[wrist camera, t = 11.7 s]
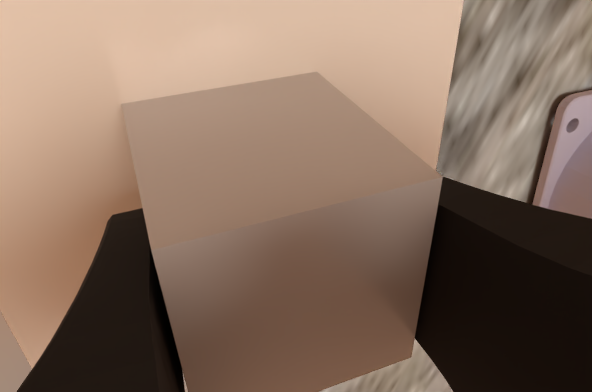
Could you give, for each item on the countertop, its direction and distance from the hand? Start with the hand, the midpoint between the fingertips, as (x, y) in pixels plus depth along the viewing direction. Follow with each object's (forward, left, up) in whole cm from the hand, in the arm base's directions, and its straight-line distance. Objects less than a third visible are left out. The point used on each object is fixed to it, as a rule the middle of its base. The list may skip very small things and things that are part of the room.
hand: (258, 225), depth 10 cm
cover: (0, 0, -3) cm, 3 cm away
